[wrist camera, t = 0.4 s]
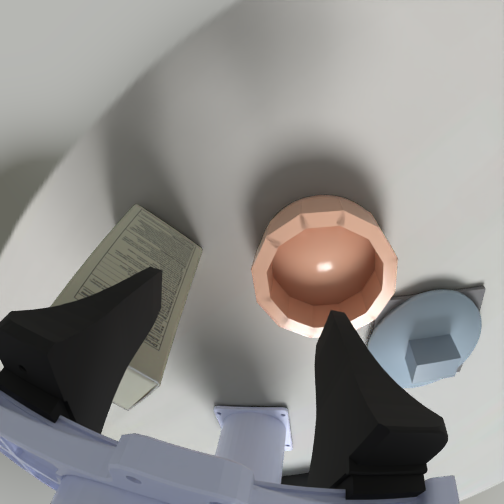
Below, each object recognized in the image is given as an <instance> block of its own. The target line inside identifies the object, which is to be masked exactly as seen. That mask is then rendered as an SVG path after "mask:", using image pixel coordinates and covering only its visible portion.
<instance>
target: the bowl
mask: <svg viewBox="0 0 504 504" xmlns="http://www.w3.org/2000/svg"><path fill="white" fill-rule="evenodd" d="M397 260H398V258H397V256H396V254H395V252H394V250H393V249H392V247H391V245H390V243H389V242H388V240H387V239H386V237H385V235H384V234H383V232H382V230H381V229H380V227H379V225H378V224H377V222H376V220H375V219H374V217H373V215H372V214H371V213H370V212H368V211H367V210H365V209H364V208H363V207H362V206H360V205H359V204H357V203H355V202H353V201H351V200H349V199H346V198H343V197H339V196H333V195H315V196H309V197H306V198H302V199H300V200H297V201H295V202H293V203H291V204H289V205H288V206H286V207H285V208H283V209H282V210H281V211H280V212H278V213H277V215H276V216H275V217H274V218H273V219H272V220H270V222H269V224H268V226H267V228H266V230H265V232H264V235H263V237H262V240H261V243H260V245H259V247H258V249H257V251H256V254H255V258H254V261H253V265H252V268H251V271H252V277H253V282H254V288H255V294H256V299H257V303H258V304H259V305H260V306H261V307H262V308H263V309H264V310H265V312H266V313H267V314H268V315H269V316H270V317H271V318H272V319H273V320H274V321H275V323H276V324H277V325H278V326H279V327H282V328H285V329H287V330H290V331H293V332H296V333H298V334H301V335H304V336H307V337H309V338H318V337H320V335H321V333H322V330H323V328H324V325H325V323H326V321H327V318H328V316H329V313H330V311H331V310H335V311H340V312H345V314H346V315H347V317H348V319H349V320H350V322H351V323H352V325H353V327H354V328H355V330H357V329H359V328H361V327H362V326H364V325H366V324H368V323H370V322H372V321H374V320H375V319H376V318H377V317H378V315H379V314H380V313H381V311H382V310H383V308H384V307H385V306H386V304H387V303H388V301H389V300H390V299H391V297H392V296H393V294H394V293H395V287H396V275H397Z"/></svg>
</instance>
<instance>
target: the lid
mask: <svg viewBox="0 0 504 504" xmlns="http://www.w3.org/2000/svg"><path fill="white" fill-rule="evenodd" d="M481 326H482V325H481V316H480V313H479V310H478V309H477V307H476V306H475V304H474V303H473V301H472V300H471V299H470V298H469V297H467V296H466V295H464V294H462V293H460V292H458V291H454V290H446V289H441V290H432V291H427V292H424V293H420V294H418V295H415V296H413V297H411V298H410V299H408V300H406V301H404V302H402V303H401V304H399V305H398V306H396V307H395V308H394V309H393V310H391V311H390V312H389V313H388V314H387V315H386V316H385V317H384V318H383V319H382V320H381V321H380V322H379V324H378V325H377V326H376V328H375V329H374V330H373V332H372V334H371V336H370V339H369V342H368V346H367V348H368V349H369V351H370V352H371V354H372V355H373V356H374V358H375V359H376V360H377V362H378V363H379V364H380V365H381V367H382V368H383V369H384V370H385V371H386V372H387V373H388V374H389V376H390V377H391V378H392V379H393V380H394V381H395V382H396V383H397V384H398V385H399V386H401V387H402V388H413V387H419V386H424V385H427V384H430V383H433V382H435V381H438V380H440V379H443V378H448V377H453V376H455V374H456V371H457V368H458V367H459V366H460V365H461V364H462V363H463V362H464V361H465V360H466V359H467V358H468V357H469V356H470V354H471V353H472V351H473V350H474V348H475V346H476V344H477V342H478V339H479V337H480V333H481Z"/></svg>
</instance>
